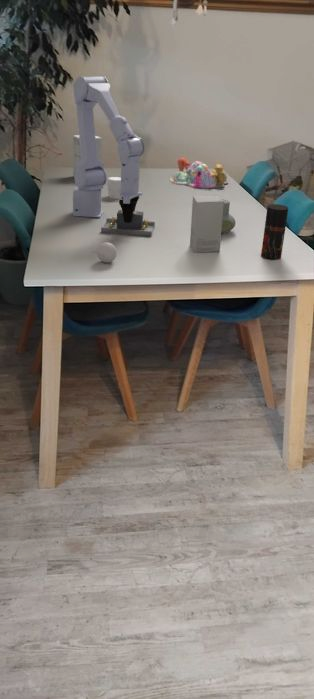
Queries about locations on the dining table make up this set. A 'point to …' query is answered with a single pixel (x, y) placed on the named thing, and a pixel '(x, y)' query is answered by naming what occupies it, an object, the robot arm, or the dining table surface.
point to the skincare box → (206, 223)
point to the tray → (112, 228)
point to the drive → (135, 223)
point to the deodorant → (274, 231)
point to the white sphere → (106, 252)
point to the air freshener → (227, 218)
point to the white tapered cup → (114, 187)
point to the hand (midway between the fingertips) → (128, 220)
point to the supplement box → (78, 151)
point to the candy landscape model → (199, 175)
